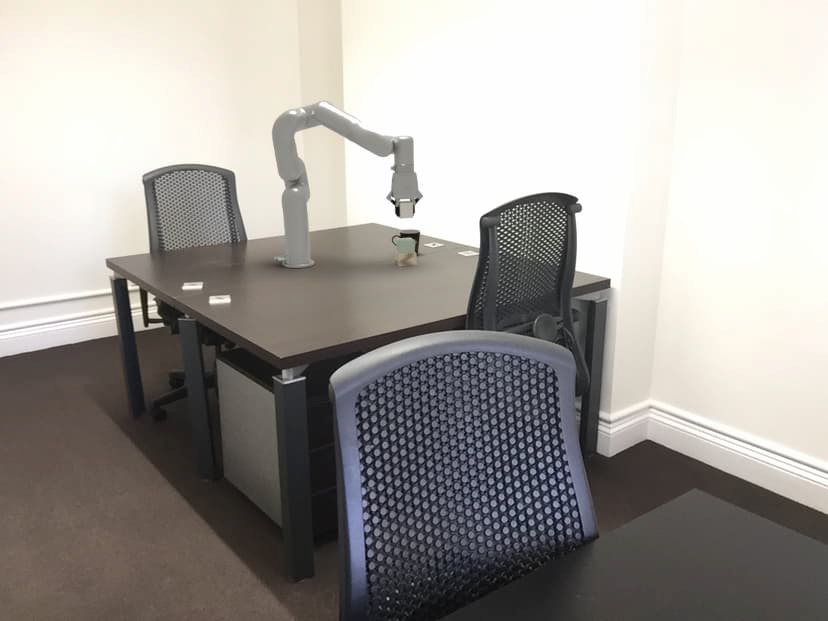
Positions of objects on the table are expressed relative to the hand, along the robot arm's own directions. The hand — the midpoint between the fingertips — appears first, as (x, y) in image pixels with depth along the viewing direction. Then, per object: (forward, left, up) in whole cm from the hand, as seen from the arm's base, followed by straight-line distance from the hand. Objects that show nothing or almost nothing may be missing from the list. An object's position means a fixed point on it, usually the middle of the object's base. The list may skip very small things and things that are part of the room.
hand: (405, 215), depth 285 cm
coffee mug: (+5, +16, -20) cm, 26 cm away
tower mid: (0, 0, -15) cm, 15 cm away
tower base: (0, 0, -20) cm, 20 cm away
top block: (0, 0, -1) cm, 1 cm away
